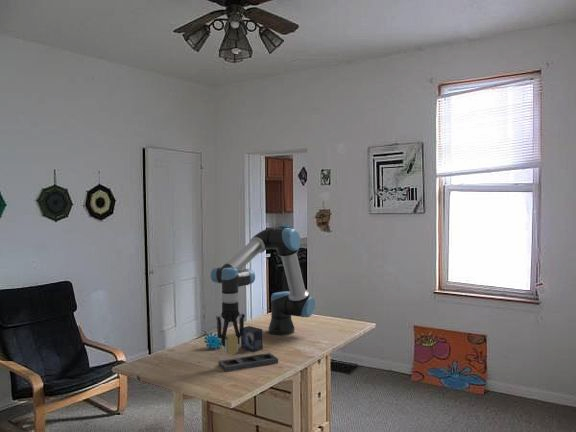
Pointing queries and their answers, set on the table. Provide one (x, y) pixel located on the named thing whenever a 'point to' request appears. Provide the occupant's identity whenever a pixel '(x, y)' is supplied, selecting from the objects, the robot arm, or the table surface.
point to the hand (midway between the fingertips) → (230, 351)
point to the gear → (212, 341)
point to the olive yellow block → (231, 343)
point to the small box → (252, 339)
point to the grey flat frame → (247, 362)
